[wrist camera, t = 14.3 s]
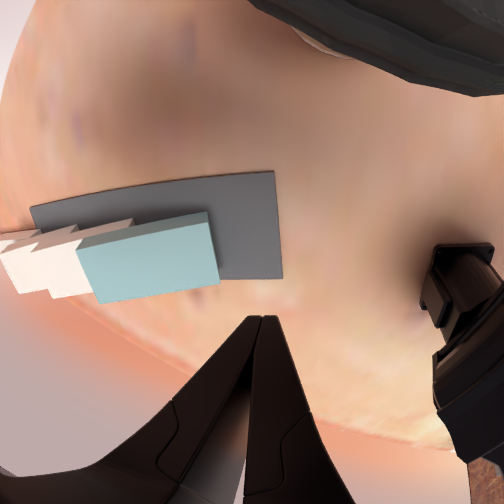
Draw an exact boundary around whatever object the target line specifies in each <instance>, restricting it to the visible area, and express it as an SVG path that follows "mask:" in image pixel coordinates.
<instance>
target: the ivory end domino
mask: <svg viewBox="0 0 504 504" xmlns="http://www.w3.org/2000/svg"><path fill="white" fill-rule="evenodd" d="M41 234H42V232H41V229H36V230H27V231H19V232H11V233H4V234H2V235H0V253H1V252H2V251H3V250H4V249H5V248H6V247H7V246H8V245H10V244H13V243H16V242H19V241H22V240H25V239H28V238H31V237H35V236H38V235H41ZM0 259H1V258H0ZM1 261H2V260H1ZM2 263H3V262H2ZM3 265H4V264H3ZM4 267H5V266H4ZM5 269H6V268H5ZM6 271H7V270H6ZM7 273H8V272H7ZM8 275H9V274H8Z"/></svg>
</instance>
